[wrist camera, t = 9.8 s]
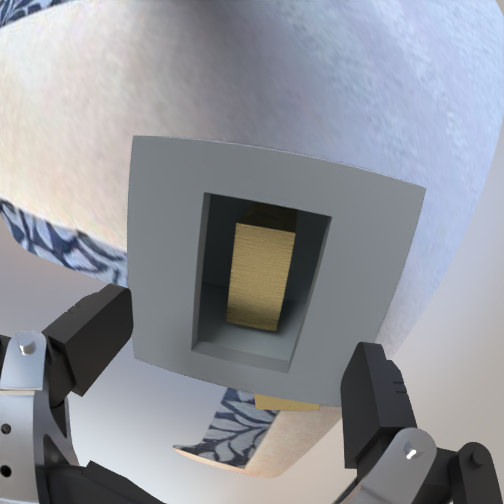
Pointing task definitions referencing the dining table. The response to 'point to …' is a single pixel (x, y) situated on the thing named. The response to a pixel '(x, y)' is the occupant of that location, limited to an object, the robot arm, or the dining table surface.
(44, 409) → the robot arm
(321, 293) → the grey hollow block
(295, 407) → the block
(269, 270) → the gold flat square block
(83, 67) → the dining table surface
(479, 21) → the dining table surface
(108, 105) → the dining table surface
